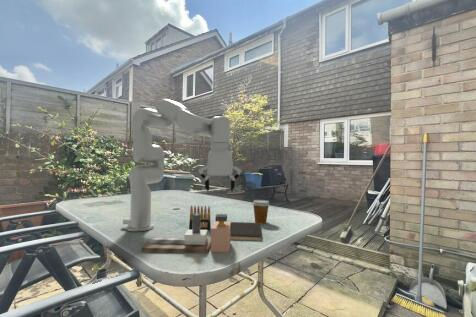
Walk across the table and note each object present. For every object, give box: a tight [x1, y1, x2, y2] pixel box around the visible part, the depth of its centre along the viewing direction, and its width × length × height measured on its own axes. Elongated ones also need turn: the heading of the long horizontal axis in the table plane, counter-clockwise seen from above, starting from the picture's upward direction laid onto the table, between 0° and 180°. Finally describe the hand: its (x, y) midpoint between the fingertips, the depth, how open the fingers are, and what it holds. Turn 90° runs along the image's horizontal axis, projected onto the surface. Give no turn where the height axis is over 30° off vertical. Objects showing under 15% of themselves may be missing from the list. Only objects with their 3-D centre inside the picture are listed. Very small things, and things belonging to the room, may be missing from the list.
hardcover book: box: [230, 221, 262, 241], centre depth 116 cm, size 16×23×2 cm
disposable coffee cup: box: [252, 199, 270, 224], centre depth 135 cm, size 10×10×12 cm
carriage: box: [183, 213, 208, 245], centre depth 95 cm, size 8×7×11 cm
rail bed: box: [141, 237, 211, 254], centre depth 95 cm, size 25×12×3 cm, turn 90°
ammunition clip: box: [188, 204, 212, 231], centre depth 119 cm, size 11×2×12 cm, turn 88°
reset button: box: [214, 213, 228, 226], centre depth 95 cm, size 4×4×5 cm
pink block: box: [210, 221, 232, 253], centre depth 95 cm, size 7×10×9 cm
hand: (219, 190), depth 95 cm, fingers open, 9 cm apart
